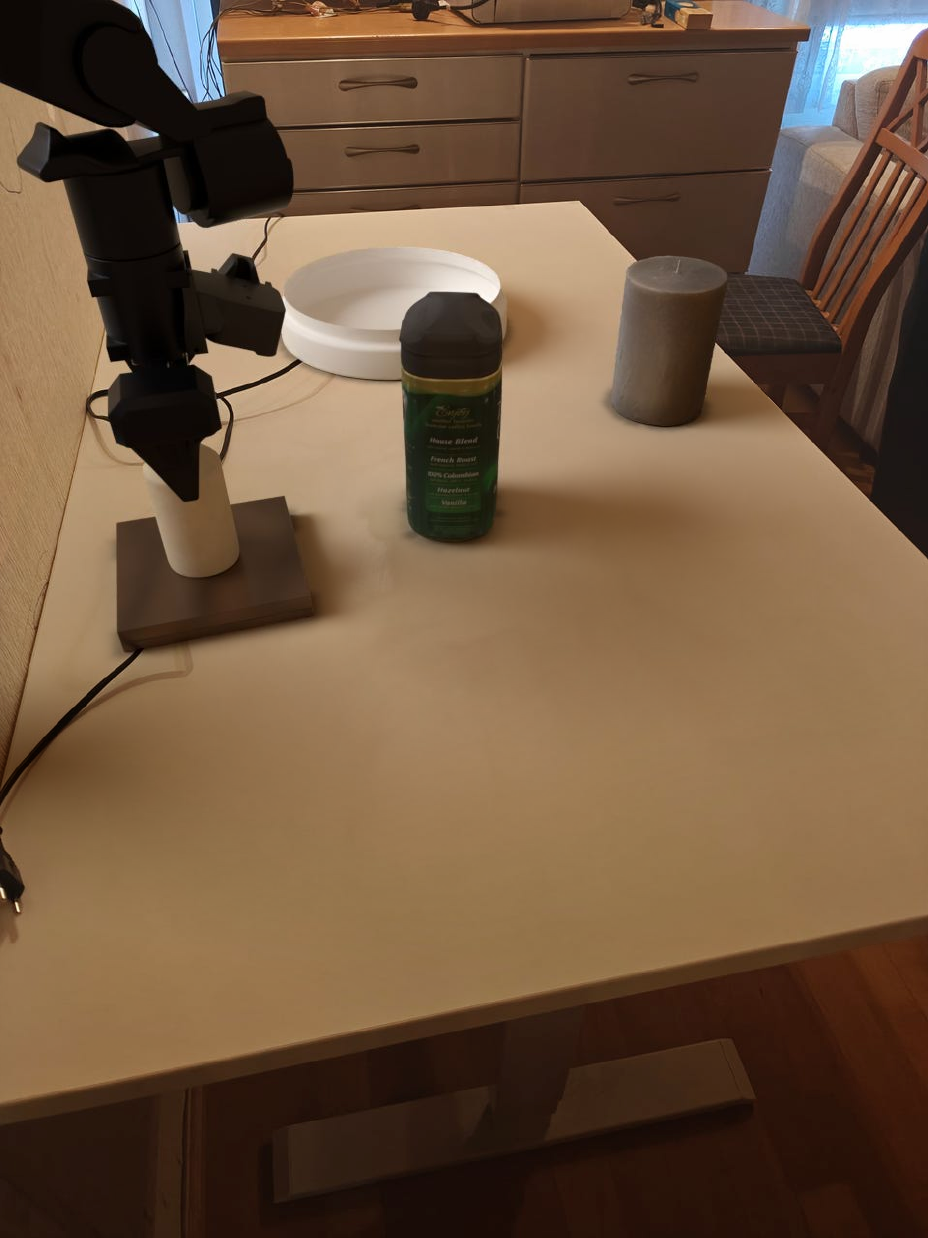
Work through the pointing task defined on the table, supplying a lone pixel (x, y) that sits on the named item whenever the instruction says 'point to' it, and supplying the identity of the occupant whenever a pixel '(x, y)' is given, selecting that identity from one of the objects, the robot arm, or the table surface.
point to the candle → (196, 520)
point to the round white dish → (372, 305)
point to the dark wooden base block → (210, 581)
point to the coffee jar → (451, 414)
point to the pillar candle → (667, 338)
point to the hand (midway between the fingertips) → (187, 465)
